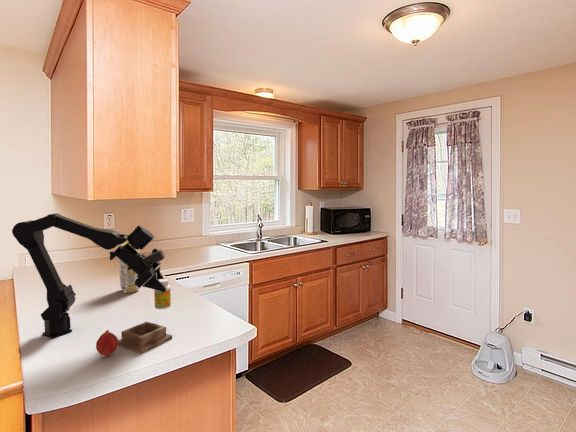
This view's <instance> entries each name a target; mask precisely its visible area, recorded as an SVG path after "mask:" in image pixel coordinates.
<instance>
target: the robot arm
mask: <svg viewBox="0 0 576 432" xmlns="http://www.w3.org/2000/svg"><path fill="white" fill-rule="evenodd" d="M52 227H54V228H55V229H56V228H57V229H59V230H62V231H65V232H68V233H70V234H74V235H77V236H79V237H82V238H86V239H88V240H90V241H91V242H92V243H94V244H95V245H96V246H98V247H100V248H102V249H104V250H107V251H108V250H110V252H109V260H110V261H112V260H114V259H115V258H117V259H118V260H119V259H120V260H121V261H122V262H123V263H124V264H125V265H127V266H128V268H127V269H128V270H132V271H133V272H135V273H136V274H137V277H138V278H137V279H136V280H135V285H136V286H137V287H138V288H139V289H140V288H141V287H142V288H148V289H152V290H154V289H155V290H158V291H162V292H165V291H166V288H165V287H164V286H163V285H162V284H161V282H160V281H159V279H165V278H164V276H163V274H162V273H161V267H162V266H160V265H161V263H162V262H161V261H163V260H164V259H165V255H164V251H163V250H162V249H158V248H157V247H155V248H152V250H151V253H150V254H148V255H145V253H142V254H141V253H140V252H139V253H138V252H137V251H136V250H143V249H145V248H146V247H147V246H148V245H149V244H150V243H151V242H152V241H153V240H154V239H155V236H154V235H153V234H152V233H151V231H150V230H147V229H146V228H144V227H143V226H141V225H140V224H138V225H137V226H136V227H135V229H134V230H133V231H132V232H130V234H125V233H120V232H119V231H117V230H113V229H107V228H100V227H95V226H91V225H89V224H86V223H84V222H80V221H77V220H74V219H72V218H69V217H66V216H65V215H64V216H63V215H62V214H60V213H50V214H47V215H45V216H43V217H39V218H37V219H35V220H34V219H33V220H25V221H21V222H18V223H16V224H15V225H13V228H12V229H11V232H12V235H13V237H14V238H15V239H16V241H17V242H18V243H19V245H21V246H22V247H23V248H24V249H25V250H27V252H28V254H29V256H30V258H31V261H32V262H33V265H34V267H35V268H36V270H37V272H38V275H39V277H40V278H41V281H42V283H43V284H44V287H45V288H46V301H47V305H48V306H47V308H46V309H45V310H43V311H42V313H41V314H40V317H41V319H42V320H43V321H44V322H43V325H44V332H43V331H42V335H43V336H46V337H48V338H51V339H54V338H57V337H59V336H62V335H66V334H69V333H71V332H73V329H71V325H72V324H71V316H69V312H68V311H69V310H70V308H71V307H72V306H73V305H74V304H75V302H76V295H77V293H76V292H75V291H74V288H73V286H72V285H71V284H68V285H65V283H64V282H63V281H62V280H61V278H60V276H59V274H58V271H57V269H56V267H55V265H54V263H53V261H52V259H51V256H50V254H49V252H48V250H47V248H46V246H45V235H44V231H45V230H49V229H50V228H52ZM125 242H128V243H127V244H126V245H125V246H119V245H120V244H123V243H125ZM129 244H130V245H129ZM115 248H116V249H115ZM134 248H135V249H136V250H135V249H134ZM113 249H115V250H113Z"/></svg>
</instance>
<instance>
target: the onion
mask: <svg viewBox="0 0 576 432" xmlns="http://www.w3.org/2000/svg"><path fill="white" fill-rule="evenodd" d="M118 340H119V338H118V337H117V336H116V335H115V334H114V333H113V332H110V330H109V329H106V330H105V331H104V332H103V333H102V334H101V335H100V336H99V338H98V339H97V341H96V343H95V349H96V351H97V352H98V353H99V354H100V355H101V356H104V357H106V358H108V357H111V355H112V354H113V353H114V352H115V351H116V350H117V349H118Z"/></svg>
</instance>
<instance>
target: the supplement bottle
mask: <svg viewBox="0 0 576 432" xmlns="http://www.w3.org/2000/svg"><path fill="white" fill-rule="evenodd" d="M159 281H160V282H161V284H162V285H163V286H164V287H165V288H166V291H165V292H162V291H158V290H155V289H153V290H154V308H155V309H156V310H166V309H169V308H170V307H171V304H172V303H171V302H172V301H171V300H172V299H171V297H172V296H171V286H170V285H169V279H166V278H164V279H159Z"/></svg>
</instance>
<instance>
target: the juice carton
mask: <svg viewBox="0 0 576 432" xmlns="http://www.w3.org/2000/svg"><path fill="white" fill-rule="evenodd" d="M128 242H129V241H126V242H125V243H123V244H120V245H118V247H119V246H125V245H126V244H127V243H128ZM129 245H130V244H129ZM134 249H135V248H134ZM135 250H136V249H135ZM139 250H140V249H138V250H136V251H137V252H138V253H140V251H139ZM118 265H119V266H118V267H119V285H120V289H121V291H122V292H123V293H124V294H130V293H135V292H136V293H137V292H139V291H140V288H138V287H137V286H136V285H135V280H136V279H137V278H138V277H137V274H136V273H135V272H133V271H132V270H128V269H127V268H128V266H127V265H125V264H124V263H123V262H122V261H121V260H120V259H119V258H118Z"/></svg>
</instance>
